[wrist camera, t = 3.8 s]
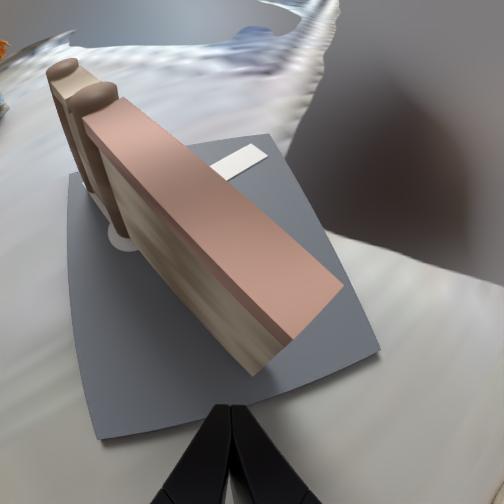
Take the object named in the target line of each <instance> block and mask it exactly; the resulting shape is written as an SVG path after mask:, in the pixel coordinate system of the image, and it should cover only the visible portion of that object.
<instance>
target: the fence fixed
mask: <svg viewBox="0 0 504 504" xmlns="http://www.w3.org/2000/svg"><path fill="white" fill-rule="evenodd" d="M46 76H47V79H48V83H49V86H50V90H51V93H52V96H53V100H54V103H55V106H56V109H57V112H58V115H59V118H60V121H61V124H62V127H63V130H64V133H65V136H66V138H67V141H68V144H69V147H70V149H71V152H72V154H73V157H74V160H75V162H76V165H77V167H78V170H79V172H80V175H81V177H82V179H83V182H84V184H85V187H86V189H87V191H88V192H90V193H95V194H96V195H97V196H98V198H99V199H100V200H101V202H102V203H103V205H104V206H105V204H104V202H103V199H102V197H101V194H100V192H99V189H98V187H97V184H96V181H95V179H94V176H93V173H92V171H91V168H90V165H89V162H88V160H87V157H86V154H85V151H84V148H83V145H82V142H81V139H80V136H79V133H78V130H77V127H76V124H75V121H74V117H73V114H72V111H71V107H70V104H69V102H70V99H71V97H72V96H73V95H74V94H75V93H76V92H77V91H79V90H80V89H82V88H84V87H86V86H88V85H91V84H94V83H99V82H101V81H100V80H99V79H98V78H96V77H95V76H94V75H92V74H91V73H90V72H88V71H87V70H86V69H84V68H83V67H82V66H80V67H79V65H78V60H77V59H76V58H70V59H66V60H63V61H60V62H58V63H56V64H54V65H52V66H51V67H50V68H49V69H48V70H47V71H46ZM105 207H106V206H105Z"/></svg>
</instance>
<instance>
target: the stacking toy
mask: <svg viewBox="0 0 504 504" xmlns="http://www.w3.org/2000/svg"><path fill="white" fill-rule="evenodd" d="M492 504H504V483H503V485H502V486H501V488H500V490H499V491H498V493H497V495H496V497H495V499H494V501H493V503H492Z"/></svg>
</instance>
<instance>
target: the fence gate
mask: <svg viewBox="0 0 504 504" xmlns="http://www.w3.org/2000/svg"><path fill="white" fill-rule="evenodd" d="M69 104H70V107H71V111H72V114H73V117H74V121H75V124H76V127H77V130H78V133H79V136H80V139H81V142H82V145H83V148H84V151H85V154H86V157H87V160H88V162H89V165H90V168H91V171H92V173H93V176H94V179H95V181H96V184H97V187H98V189H99V192H100V194H101V197H102V199H103V202H104V204H105V206H106V209H107V211H108V214H109V216H110V218H111V221H112V223H113V225H114V228H115V230H116V232H117V234H118V235H119V236H121V237H123V238H130V239H131V241H132V242H133V244H134V245H135V246H136V247H137V249H138V250H139V251H140V252H141V254H142V255H143V256H144V257H145V259H146V260H147V261H148V262H149V263H150V265H151V266H152V267H153V268H154V269H155V271H156V272H157V273H158V274H159V275H160V277H161V278H162V279H163V280H164V281H165V283H166V284H167V285H168V286H169V287H170V288H171V290H172V291H173V292H174V293H175V294H176V295H177V297H178V298H179V299H180V300H181V301H182V302H183V303H184V305H185V306H186V307H187V308H188V309H189V310H190V311H191V312H192V314H193V315H194V316H195V317H196V318H197V319H198V320H199V321H200V322H201V324H202V325H203V326H204V327H205V328H206V329H207V330H208V331H209V332H210V333H211V334H212V335H213V337H214V338H215V339H216V340H217V341H218V342H219V343H220V344H221V345H222V346H223V347H224V348H225V349H226V350H227V351H228V352H229V353H230V354H231V355H232V356H233V358H234V359H235V360H236V361H237V362H238V363H239V364H240V365H241V366H242V367H243V368H244V369H245V370H246V371H247V372H248V373H249V374H250V375H251V376H252V377H253V376H254V375H255V374H256V373H258V372H259V371H260V370H261V369H262V368H263V367H264V366H265V365H266V364H267V363H269V362H270V361H271V360H272V359H273V358H274V357H275V356H276V355H277V354H278V353H279V352H280V351H281V350H283V349H284V348H285V347H286V346H287V345H288V344H289V343H290V342H291V341H292V340H293V339H294V338H295V337H296V336H297V335H298V334H299V333H300V332H301V331H302V330H303V329H304V328H305V327H306V326H307V325H308V324H309V323H310V322H311V321H312V320H313V319H314V318H315V317H316V316H317V315H318V314H319V313H320V311H321V310H322V309H323V308H324V307H325V306H326V305H327V304H328V303H329V302H330V301H331V300H332V299H333V297H334V296H335V295H336V294H337V293H338V292H339V291H340V290H341V289H342V287H343V286H344V285H343V284H342V283H341V282H340V281H339V280H338V279H337V278H336V277H335V276H334V275H332V274H331V273H330V272H329V271H328V270H327V269H326V268H325V267H324V266H323V265H322V264H320V263H319V262H318V261H317V260H316V259H315V258H314V257H313V256H312V255H311V254H310V253H308V252H307V251H306V250H305V249H304V248H303V247H302V246H301V245H300V244H298V243H297V242H296V241H295V240H294V239H293V238H292V237H291V236H290V235H288V234H287V233H286V232H285V231H284V230H283V229H282V228H281V227H279V226H278V225H277V224H276V223H275V222H274V221H273V220H271V219H270V218H269V217H268V216H267V215H266V214H265V213H264V212H262V211H261V210H260V209H259V208H258V207H257V206H255V205H254V204H253V203H252V202H251V201H250V200H249V199H247V198H246V197H245V196H244V195H243V194H242V193H240V192H239V191H238V190H237V189H236V188H235V187H233V186H232V185H231V184H230V183H229V182H228V181H226V180H225V179H224V178H223V177H222V176H220V175H219V174H218V173H217V172H216V171H215V170H213V169H212V168H211V167H210V166H209V165H207V164H206V163H205V162H204V161H203V160H201V159H200V158H199V157H198V156H197V155H195V154H194V153H193V152H192V151H191V150H189V149H188V148H187V147H186V146H184V145H183V144H182V143H181V142H180V141H178V140H177V139H176V138H175V137H173V136H172V135H171V134H170V133H168V132H167V131H166V130H165V129H164V128H162V127H161V126H160V125H159V124H157V123H156V122H155V121H154V120H152V119H151V118H150V117H149V116H147V115H146V114H145V113H143V112H142V111H141V110H140V109H138V108H137V107H136V106H135V105H133V104H132V103H131V102H129V101H128V100H127V99H126V98H124V97H122V98H120V99H119V97H118V91H117V86H116V85H115V84H114V83H111V82H99V83H94V84H91V85H88V86H86V87H84V88H82V89H80V90H79V91H77V92H76V93H75V94H74V95H73V96H72V97H71V99H70V102H69Z"/></svg>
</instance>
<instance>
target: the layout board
mask: <svg viewBox="0 0 504 504" xmlns="http://www.w3.org/2000/svg"><path fill="white" fill-rule="evenodd" d="M186 147H187V148H188V149H189V150H191V151H192V152H193V153H194V154H195V155H197V156H198V157H199V158H200V159H201V160H203V161H204V162H205V163H206V164H207V165H209V166H210V167H211V168H212V169H213V170H215V171H216V172H217V173H218V174H219V175H220V176H222V177H223V178H224V179H225V180H226V181H228V182H229V183H230V184H231V185H232V186H233V187H235V188H236V189H237V190H238V191H239V192H240V193H242V194H243V195H244V196H245V197H246V198H247V199H249V200H250V201H251V202H252V203H253V204H254V205H255V206H257V207H258V208H259V209H260V210H261V211H262V212H264V213H265V214H266V215H267V216H268V217H269V218H270V219H271V220H273V221H274V222H275V223H276V224H277V225H278V226H279V227H281V228H282V229H283V230H284V231H285V232H286V233H287V234H288V235H290V236H291V237H292V238H293V239H294V240H295V241H296V242H297V243H298V244H300V245H301V246H302V247H303V248H304V249H305V250H306V251H307V252H308V253H310V254H311V255H312V256H313V257H314V258H315V259H316V260H317V261H318V262H319V263H320V264H322V265H323V266H324V267H325V268H326V269H327V270H328V271H329V272H330V273H331V274H332V275H334V276H335V277H336V278H337V279H338V280H339V281H340V282H341V283H342V284H343V285H344V286H343V287H342V289H341V290H340V291H339V292H338V293H337V294H336V295H335V296H334V297H333V299H332V300H331V301H330V302H329V303H328V304H327V305H326V306H325V307H324V308H323V309H322V310H321V311H320V313H319V314H318V315H317V316H316V317H315V318H314V319H313V320H312V321H311V322H310V323H309V324H308V325H307V326H306V327H305V328H304V329H303V330H302V331H301V332H300V333H299V334H298V335H297V336H296V337H295V338H294V339H293V340H292V341H291V342H290V343H289V344H288V345H287V346H286V347H285V348H284V349H283V350H281V351H280V352H279V353H278V354H277V355H276V356H275V357H274V358H273V359H272V360H271V361H270V362H269V363H267V364H266V365H265V366H264V367H263V368H262V369H261V370H260V371H259V372H258V373H256V374H255V375H254V376H253V377H252V376H251V375H250V374H249V373H248V372H247V371H246V370H245V369H244V368H243V367H242V366H241V365H240V364H239V363H238V362H237V361H236V360H235V359H234V358H233V356H232V355H231V354H230V353H229V352H228V351H227V350H226V349H225V348H224V347H223V346H222V345H221V344H220V343H219V342H218V341H217V340H216V339H215V338H214V337H213V335H212V334H211V333H210V332H209V331H208V330H207V329H206V328H205V327H204V326H203V325H202V324H201V322H200V321H199V320H198V319H197V318H196V317H195V316H194V315H193V314H192V312H191V311H190V310H189V309H188V308H187V307H186V306H185V305H184V303H183V302H182V301H181V300H180V299H179V298H178V297H177V295H176V294H175V293H174V292H173V291H172V290H171V288H170V287H169V286H168V285H167V284H166V283H165V281H164V280H163V279H162V278H161V277H160V275H159V274H158V273H157V272H156V271H155V269H154V268H153V267H152V266H151V265H150V263H149V262H148V261H147V260H146V259H145V257H144V256H143V255H142V254H141V252H140V251H139V250H138V249H137V247H136V246H135V245H134V244H133V242H132V241H131V239H130V238H123V237H121V236H119V235H118V234H117V232H116V230H115V228H114V225H113V223H112V221H111V218H110V216H109V214H108V211H107V209H106V207H105V206H104V205H103V203H102V202H101V200H100V199H99V198H98V196H97V195H96V194H95V193H90V192H88V191H87V189H86V187H85V184H84V182H83V179H82V177H81V175H80V172H75V173H72V174H70V175H69V188H68V207H67V262H68V282H69V295H70V306H71V316H72V324H73V332H74V339H75V345H76V352H77V358H78V363H79V369H80V374H81V379H82V383H83V388H84V393H85V397H86V401H87V405H88V409H89V413H90V417H91V421H92V424H93V428H94V431H95V434H96V438H97V440H99V439H106V438H113V437H119V436H126V435H132V434H137V433H142V432H148V431H153V430H158V429H162V428H167V427H171V426H176V425H180V424H184V423H188V422H192V421H196V420H200V419H204V418H206V417H207V416H208V414H209V412H210V411H211V409H212V408H213V406H214V405H215V404H229V405H230V406H231V405H232V404H239V405H246V406H247V405H250V404H253V403H256V402H259V401H262V400H265V399H268V398H271V397H274V396H276V395H279V394H282V393H285V392H287V391H290V390H292V389H295V388H298V387H300V386H303V385H305V384H308V383H310V382H313V381H315V380H317V379H320V378H322V377H324V376H327V375H329V374H331V373H334V372H336V371H338V370H340V369H343V368H345V367H347V366H349V365H351V364H353V363H356V362H358V361H360V360H362V359H364V358H366V357H368V356H370V355H372V354H374V353H376V352H378V351H380V350H381V348H380V346H379V343H378V341H377V339H376V337H375V334H374V332H373V330H372V328H371V325H370V323H369V321H368V319H367V316H366V314H365V312H364V310H363V308H362V306H361V303H360V301H359V299H358V297H357V295H356V293H355V291H354V289H353V287H352V285H351V282H350V280H349V278H348V276H347V274H346V272H345V270H344V268H343V266H342V264H341V262H340V260H339V258H338V256H337V254H336V252H335V250H334V248H333V246H332V244H331V243H330V241H329V239H328V237H327V235H326V233H325V231H324V229H323V227H322V225H321V224H320V222H319V220H318V218H317V216H316V214H315V212H314V211H313V209H312V207H311V205H310V203H309V201H308V200H307V198H306V196H305V194H304V192H303V191H302V189H301V187H300V185H299V183H298V182H297V180H296V179H295V176H294V175H293V173H292V171H291V170H290V168H289V166H288V164H287V163H286V161H285V159H284V158H283V156H282V154H281V153H280V151H279V149H278V148H277V146H276V144H275V143H274V141H273V139H272V138H271V136H270V134H261V135H253V136H245V137H238V138H230V139H224V140H217V141H211V142H205V143H199V144H193V145H188V146H186Z"/></svg>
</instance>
